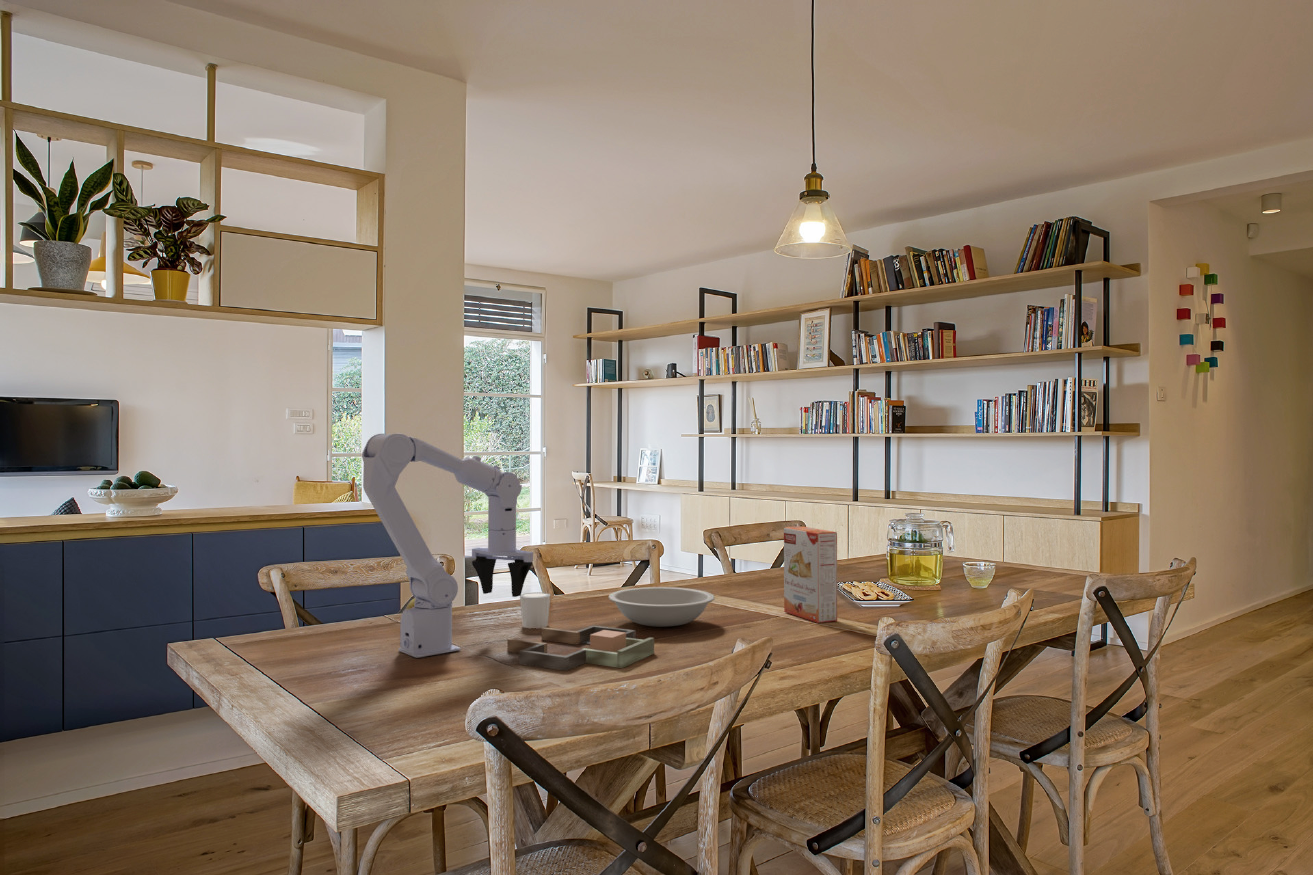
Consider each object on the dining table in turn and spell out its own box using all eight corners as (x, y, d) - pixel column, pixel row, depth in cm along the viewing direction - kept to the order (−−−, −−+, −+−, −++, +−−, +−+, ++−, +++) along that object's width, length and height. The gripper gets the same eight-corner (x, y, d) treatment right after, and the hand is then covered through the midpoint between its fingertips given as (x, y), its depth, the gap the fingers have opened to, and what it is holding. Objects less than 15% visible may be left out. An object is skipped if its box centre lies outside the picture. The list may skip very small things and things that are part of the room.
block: (589, 658, 161) (590, 634, 161) (603, 652, 165) (604, 629, 165) (612, 661, 158) (612, 637, 158) (625, 655, 163) (626, 632, 163)
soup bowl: (717, 637, 178) (717, 606, 179) (604, 636, 179) (604, 605, 179) (712, 614, 202) (712, 587, 203) (612, 614, 203) (612, 586, 203)
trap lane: (486, 658, 160) (486, 642, 160) (562, 632, 182) (562, 618, 182) (603, 676, 148) (603, 659, 148) (669, 646, 170) (669, 631, 170)
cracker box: (782, 612, 205) (782, 526, 205) (803, 610, 207) (803, 525, 207) (816, 623, 192) (816, 531, 192) (838, 621, 195) (838, 530, 195)
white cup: (553, 622, 192) (553, 592, 193) (546, 629, 186) (546, 597, 186) (524, 622, 193) (524, 591, 193) (516, 628, 186) (516, 597, 186)
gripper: (542, 529, 176) (541, 594, 176) (487, 525, 183) (486, 588, 182) (521, 532, 170) (521, 599, 169) (465, 528, 176) (465, 593, 176)
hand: (501, 594), depth 176 cm, fingers open, 7 cm apart
